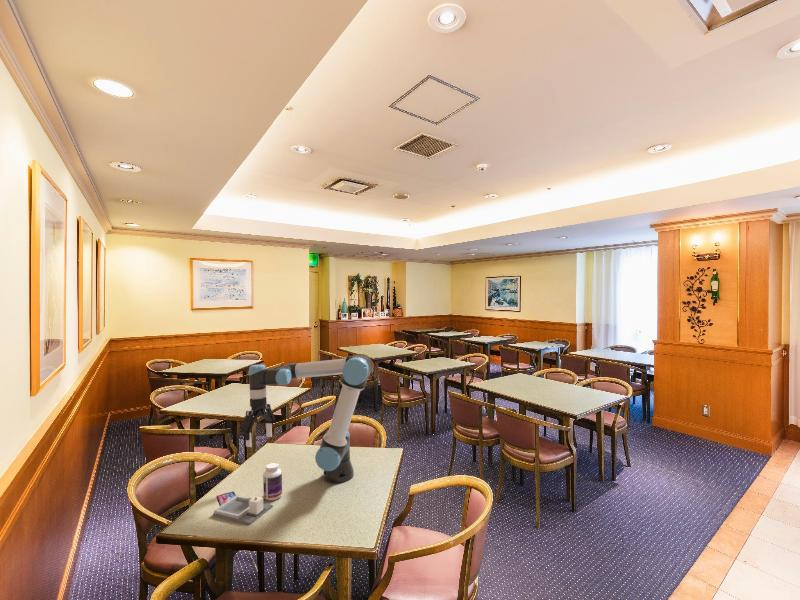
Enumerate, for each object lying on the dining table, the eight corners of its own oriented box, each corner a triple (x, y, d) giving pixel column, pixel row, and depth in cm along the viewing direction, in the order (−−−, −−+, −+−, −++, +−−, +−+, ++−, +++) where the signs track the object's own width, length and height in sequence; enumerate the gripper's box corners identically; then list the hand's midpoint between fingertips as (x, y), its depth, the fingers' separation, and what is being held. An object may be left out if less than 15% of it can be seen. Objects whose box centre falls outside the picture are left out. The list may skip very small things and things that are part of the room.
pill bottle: (285, 494, 178) (285, 463, 178) (274, 503, 170) (274, 470, 170) (271, 491, 180) (270, 460, 180) (259, 500, 173) (259, 468, 173)
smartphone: (221, 510, 164) (215, 495, 177) (221, 511, 164) (215, 497, 177) (240, 504, 169) (233, 490, 181) (240, 506, 169) (233, 492, 181)
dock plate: (272, 507, 167) (272, 490, 167) (249, 525, 154) (249, 507, 154) (238, 499, 173) (237, 483, 173) (213, 516, 160) (212, 499, 160)
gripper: (269, 390, 198) (271, 431, 198) (231, 403, 175) (233, 450, 175) (281, 391, 195) (282, 433, 195) (244, 404, 172) (245, 452, 172)
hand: (259, 441), depth 185 cm, fingers open, 13 cm apart
